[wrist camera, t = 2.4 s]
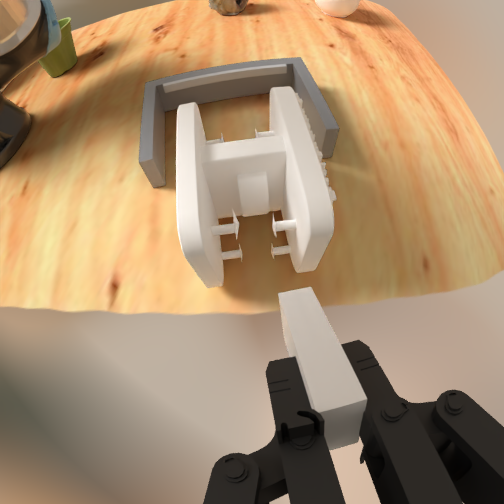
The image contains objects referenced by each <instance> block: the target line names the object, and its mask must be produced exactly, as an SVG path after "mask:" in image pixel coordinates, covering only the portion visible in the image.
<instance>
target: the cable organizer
mask: <svg viewBox="0 0 504 504" xmlns="http://www.w3.org/2000/svg"><path fill="white" fill-rule="evenodd" d="M302 102H303V101H302V99H300V98H299V96H298V93H295V92H294V90H293V89H292V88H291V87H290V86H286V87H273V88H271V90H270V131H265V132H256V130H255V138H253V139H245V140H238V141H231V142H224V139H223V136H221V137H222V139H215V140H209V141H206V137H205V133H204V129H203V125H202V120H201V116H200V112H199V109H198V106H197V104H196V103H195V102H193V103H187V104H182V105H179V107H178V110H177V133H176V208H177V227H178V235H179V240H180V245H181V248H182V252H183V254H184V256H185V258H186V259H187V261H188V262H189V264H190V265H191V266H192V268H193V269H194V270H195V272H196V273H197V275H198V276H199V277H200V279H201V280H202V281H203V283H204V284H205V285H206V287H207V288H211V287H219V286H223V283H224V269H223V260H225V259H232V258H239V257H241V261H242V251H241V248H240V245H239V248H240V250H233V251H226V252H222V250H221V240H220V235H224V234H231V233H236V239H237V236H238V229H239V222H238V220H237V217H236V216H240V215H243V217H247V216H254V215H261V214H268V212H269V211H276V210H281V212H282V217H283V221H277V222H275V221H274V215H273V224H272V228H273V232H274V236H275V235H276V231H283V230H285V232H286V237H287V242H288V246H281V247H274V248H273V245H271V253H272V257H273V258H274V255H281V254H287V253H290V256H291V260H292V264H293V267H294V269H295V271H296V272H297V273H302V272H308V271H314V270H315V269H316V267H317V265H318V264H319V262H320V260H321V258H322V256H323V254H324V252H325V250H326V248H327V246H328V244H329V242H330V240H331V238H332V236H333V232H334V211H333V205H332V204H333V201H335V200H337V198H336V195H335V192H334V190H332V188H331V187H328V186H329V179H328V177H327V178H325V177H326V175H327V169H325V166H326V162H323V163H321V161H322V157H323V155H322V152H321V151H319V150H318V147H317V143H316V142H314V140H315V134H314V135H313V132H312V130H311V131H310V124H309V118H307V116H306V115H305V111H304V109H302ZM221 135H222V133H221ZM324 169H325V170H324ZM227 217H233V218H234V223H233V224H225V225H219V221H218V218H227ZM276 238H277V236H276ZM274 261H275V260H274Z"/></svg>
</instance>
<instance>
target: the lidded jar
mask: <svg viewBox="0 0 504 504" xmlns="http://www.w3.org/2000/svg"><path fill="white" fill-rule="evenodd" d="M315 2H316V4H317V6H318V7H319V8H320V9H321V10H322V12H323V13H324V14H326V15H329V16H333V17H339V18H344V17H347V16H348V15H350V14H352V13H353V12H355V11H356V9H357V8H358V6H359V3H360V0H315Z"/></svg>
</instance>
